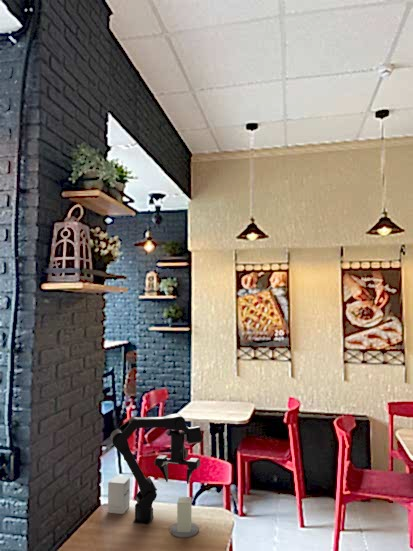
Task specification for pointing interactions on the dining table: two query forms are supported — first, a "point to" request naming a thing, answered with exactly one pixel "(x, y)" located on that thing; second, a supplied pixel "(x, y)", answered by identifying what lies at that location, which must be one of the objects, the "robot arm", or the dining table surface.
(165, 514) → the dining table surface
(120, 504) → the supplement box
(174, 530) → the slate coaster
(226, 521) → the dining table surface
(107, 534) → the dining table surface
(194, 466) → the robot arm
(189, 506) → the block
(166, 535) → the dining table surface
